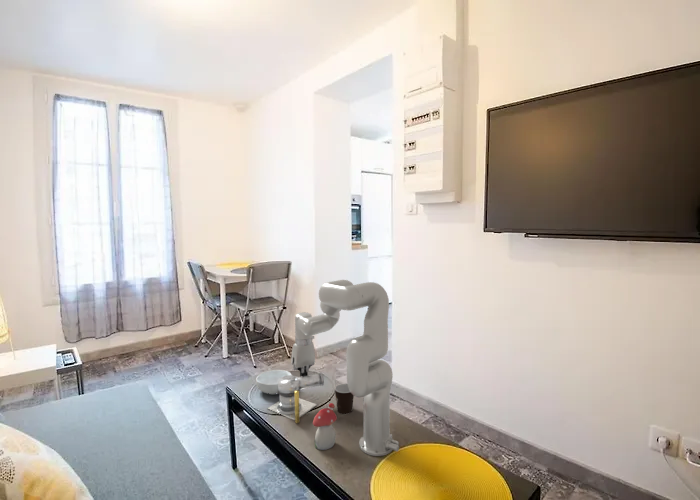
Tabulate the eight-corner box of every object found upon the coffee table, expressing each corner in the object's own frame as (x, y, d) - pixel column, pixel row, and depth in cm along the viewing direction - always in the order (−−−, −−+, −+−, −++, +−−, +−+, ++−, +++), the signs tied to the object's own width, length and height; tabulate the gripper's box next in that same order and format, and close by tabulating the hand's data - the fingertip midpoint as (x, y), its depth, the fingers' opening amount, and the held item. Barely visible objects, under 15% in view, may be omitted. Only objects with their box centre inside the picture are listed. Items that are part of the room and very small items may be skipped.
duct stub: (297, 425, 147) (296, 392, 145) (264, 411, 157) (263, 381, 156) (321, 407, 160) (321, 377, 159) (289, 395, 170) (289, 368, 169)
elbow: (279, 398, 152) (279, 385, 151) (276, 388, 160) (275, 375, 160) (325, 389, 159) (325, 377, 158) (319, 380, 167) (319, 368, 167)
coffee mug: (353, 416, 153) (352, 393, 152) (333, 414, 154) (332, 392, 153) (357, 402, 164) (356, 381, 163) (338, 400, 165) (337, 379, 164)
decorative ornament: (334, 437, 139) (333, 399, 137) (340, 447, 133) (340, 408, 131) (310, 443, 135) (310, 404, 134) (315, 453, 129) (315, 413, 128)
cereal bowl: (298, 385, 181) (297, 371, 180) (282, 401, 165) (281, 386, 165) (267, 380, 186) (267, 367, 186) (249, 396, 171) (249, 381, 170)
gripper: (313, 334, 169) (313, 372, 172) (284, 341, 161) (284, 381, 163) (322, 339, 163) (322, 378, 166) (292, 346, 155) (292, 387, 157)
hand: (303, 379), depth 164 cm, fingers closed
